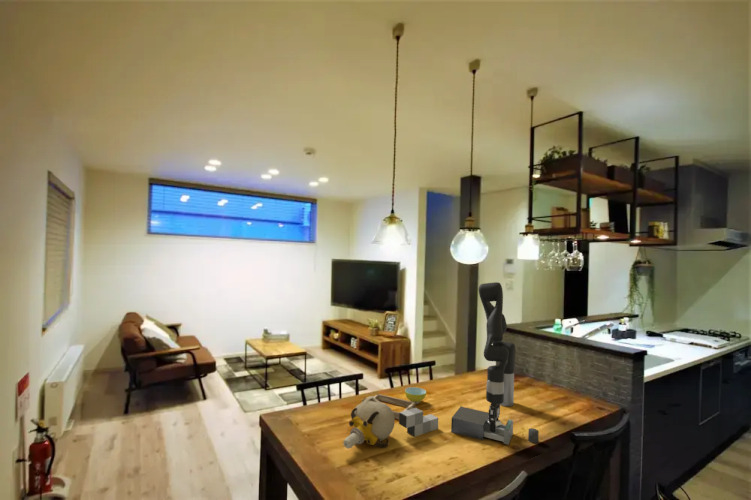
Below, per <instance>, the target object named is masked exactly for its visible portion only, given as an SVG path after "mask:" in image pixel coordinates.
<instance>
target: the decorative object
mask: <svg viewBox="0 0 751 500" xmlns="http://www.w3.org/2000/svg"><path fill="white" fill-rule="evenodd" d="M374 396H375V395H371V396H370V395H369V396H367V397H363V398H362V400H361V403H359V404H357V405H356V406H355V408H353V409H352V410H351V412H350V418H351V420H350V421H349V422H348V425H349V426H350V427H353V428H352V429H351V430H350V434H349V435H348V436H347V437H346V438H345V439H344V440H343V442H342V443H343V447H344V448H346V449H351V448H353V446H355V445H356V444H357V445H362V444H363V443H364V442H365V441H366V443H367V444H368V445H371V446H376V447H378V448H387V446H389V439H388V437H389V436H390V435H391V433H392V432H393V430H394V427H395V420H396V419H395V418H394V413H393V411H394V410H392V408H391V407H390V406H389V405H387V403H385V402H383V401H379V400H377V399H375V398H374ZM374 400H375V401H374ZM384 440H386V442H382V441H384Z"/></svg>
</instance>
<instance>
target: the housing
mask: <svg viewBox="0 0 751 500" xmlns="http://www.w3.org/2000/svg"><path fill="white" fill-rule="evenodd" d="M488 419H489V411H483V410H479V409H474V408H469V407H464V406H460V407H459V408H458V409H457V411H456V412H455V413H453V415H452V416H451V425H450V426H451V428H450V429H451V431H450V432H451V433H453V434H457V435H461V436H465V437H467V438H471V439H475V440H479V441H484V439H485V438H486V437H483V434H484V425H485V423H486V421H487V420H488Z"/></svg>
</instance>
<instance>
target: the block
mask: <svg viewBox="0 0 751 500" xmlns="http://www.w3.org/2000/svg"><path fill="white" fill-rule="evenodd" d="M398 424H399V425H400V426H402V427H403V428H405V429H406V432H407V434H409V435H411V436H412V437H414V438H415V437H418V436H420V435H421V436H422V435H423V434H427V433H429V432H432V431H436V430H438V429H439V417H437V416H436V415H433V414H431V413H429V414H427V415H424V411H423V410H421V409H419V408H417V407H415V408H413V409H410V410H406V411H404V410H402V411H399V420H398Z"/></svg>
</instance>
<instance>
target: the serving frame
mask: <svg viewBox="0 0 751 500" xmlns="http://www.w3.org/2000/svg"><path fill="white" fill-rule="evenodd" d="M373 396H374V398H375V399H377V400H378V401H380V402H383V403H389V404H392V405H396V406H400V407H405V409H403V411H406V410H410V409H413V408H416V404H415V402H411V401H410V400H406V399H402V398H398V397H393V396H389V395H384V394H380V393H377V394H376V395H373ZM374 401H375V400H374ZM392 411H393V413H394V418H395V420H398V421H399V412H400V411H399V412H398V411H395V410H392Z"/></svg>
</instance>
